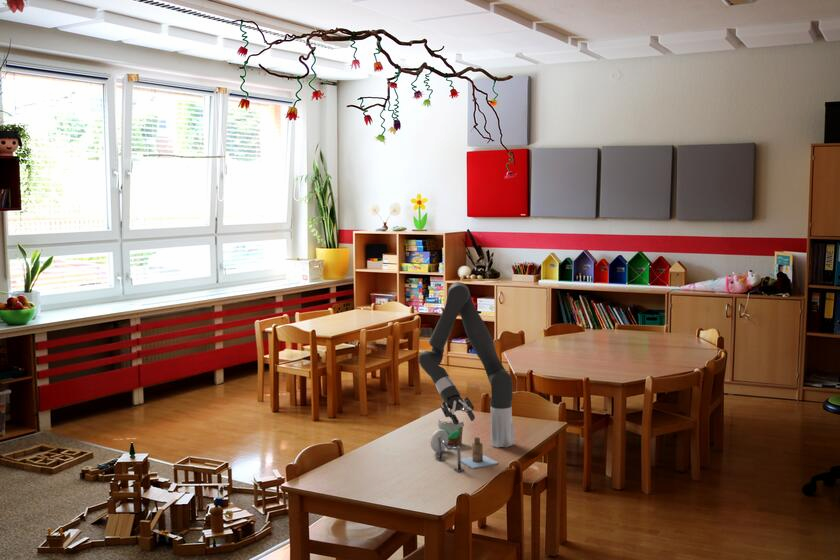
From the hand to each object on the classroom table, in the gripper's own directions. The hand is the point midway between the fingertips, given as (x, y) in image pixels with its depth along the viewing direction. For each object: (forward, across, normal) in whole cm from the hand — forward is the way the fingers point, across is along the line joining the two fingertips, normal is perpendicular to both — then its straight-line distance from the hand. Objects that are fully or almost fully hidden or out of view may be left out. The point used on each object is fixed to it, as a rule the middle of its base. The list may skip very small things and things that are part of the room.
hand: (465, 421), depth 327 cm
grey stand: (+12, -11, +9) cm, 19 cm away
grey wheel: (+1, -4, +21) cm, 21 cm away
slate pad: (+16, 0, +6) cm, 17 cm away
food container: (-3, +7, +25) cm, 26 cm away
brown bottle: (+16, 0, +5) cm, 17 cm away
